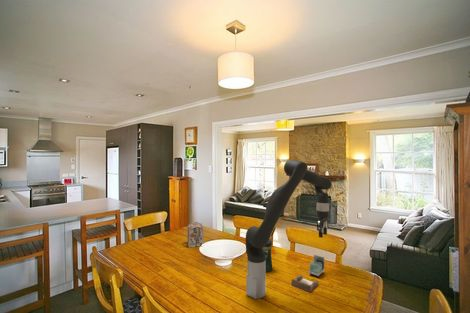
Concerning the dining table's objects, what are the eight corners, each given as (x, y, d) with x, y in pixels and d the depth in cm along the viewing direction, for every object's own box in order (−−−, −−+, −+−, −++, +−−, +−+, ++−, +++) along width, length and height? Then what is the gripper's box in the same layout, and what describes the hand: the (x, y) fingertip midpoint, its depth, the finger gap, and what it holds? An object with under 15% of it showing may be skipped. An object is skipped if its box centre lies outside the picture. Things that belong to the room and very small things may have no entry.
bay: (310, 292, 120) (310, 286, 120) (291, 285, 126) (291, 279, 126) (318, 284, 128) (318, 278, 128) (300, 277, 134) (300, 272, 134)
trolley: (318, 278, 134) (318, 262, 134) (308, 274, 138) (308, 259, 138) (324, 272, 140) (324, 257, 140) (314, 269, 144) (314, 254, 144)
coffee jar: (273, 267, 148) (273, 237, 148) (271, 272, 140) (271, 241, 141) (258, 265, 151) (258, 236, 151) (255, 270, 143) (255, 240, 143)
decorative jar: (187, 242, 191) (187, 220, 191) (201, 241, 194) (201, 219, 195) (188, 248, 179) (189, 224, 180) (203, 246, 183) (204, 223, 183)
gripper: (324, 212, 140) (324, 240, 140) (332, 208, 151) (332, 234, 151) (312, 210, 145) (312, 237, 145) (321, 207, 156) (321, 232, 156)
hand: (322, 235), depth 148 cm, fingers open, 7 cm apart
